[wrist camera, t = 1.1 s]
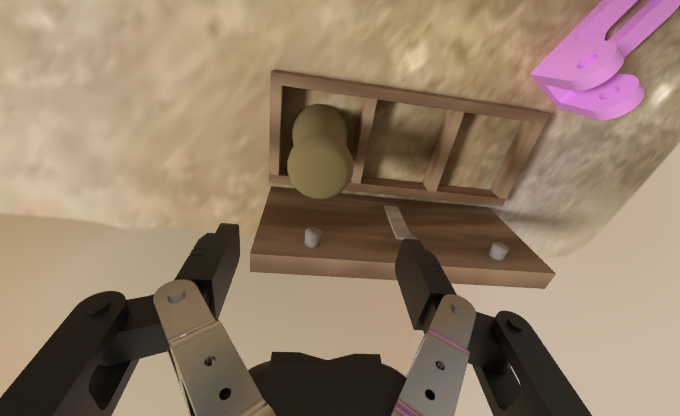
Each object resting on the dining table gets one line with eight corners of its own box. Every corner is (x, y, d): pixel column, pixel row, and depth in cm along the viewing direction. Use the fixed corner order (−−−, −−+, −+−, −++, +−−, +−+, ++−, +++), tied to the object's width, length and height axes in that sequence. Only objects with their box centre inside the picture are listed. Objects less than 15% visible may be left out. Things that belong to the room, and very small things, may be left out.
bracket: (556, 107, 30) (614, 124, 24) (528, 74, 28) (584, 83, 22) (684, -11, 25) (795, -26, 20) (661, -62, 23) (777, -97, 18)
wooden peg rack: (273, 69, 26) (245, 88, 16) (536, 109, 30) (649, 145, 20) (270, 201, 34) (250, 271, 24) (482, 220, 37) (544, 288, 27)
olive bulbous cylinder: (335, 94, 28) (344, 122, 19) (355, 147, 31) (372, 195, 22) (281, 117, 29) (263, 155, 19) (306, 167, 32) (301, 221, 22)
